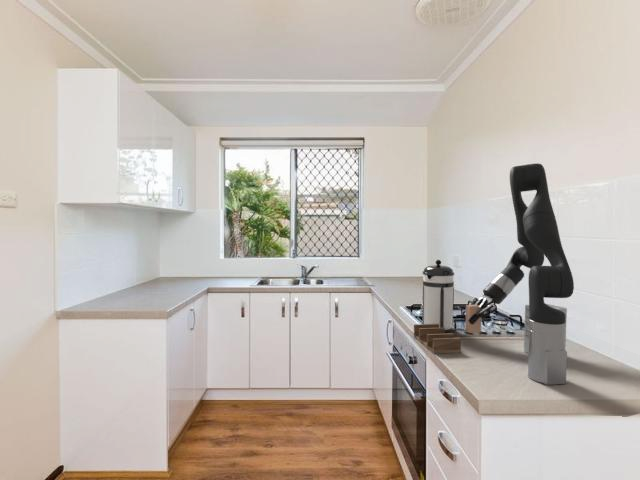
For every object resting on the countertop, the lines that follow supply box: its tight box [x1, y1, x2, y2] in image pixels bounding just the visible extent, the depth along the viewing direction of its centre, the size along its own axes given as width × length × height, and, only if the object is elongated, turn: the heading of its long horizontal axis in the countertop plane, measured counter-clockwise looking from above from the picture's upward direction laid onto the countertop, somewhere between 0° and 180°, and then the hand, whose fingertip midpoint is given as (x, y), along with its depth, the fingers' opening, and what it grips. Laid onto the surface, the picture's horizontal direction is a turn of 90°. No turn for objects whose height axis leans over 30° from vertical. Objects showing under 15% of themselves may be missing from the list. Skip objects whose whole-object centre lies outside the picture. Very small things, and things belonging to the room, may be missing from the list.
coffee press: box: [421, 259, 456, 331], centre depth 169 cm, size 17×16×30 cm
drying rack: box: [413, 323, 462, 354], centre depth 150 cm, size 20×10×5 cm, turn 6°
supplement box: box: [523, 303, 568, 354], centre depth 138 cm, size 10×9×17 cm
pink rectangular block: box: [464, 304, 482, 334], centre depth 150 cm, size 3×4×10 cm, turn 96°
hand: (468, 321), depth 149 cm, fingers closed on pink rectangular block, 3 cm apart
